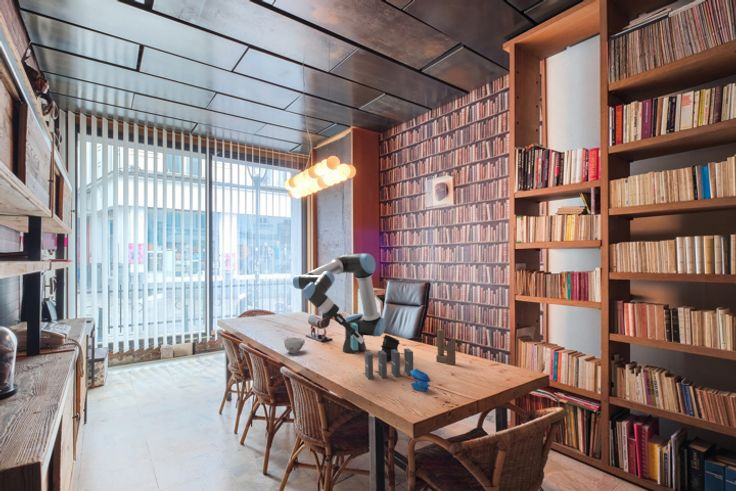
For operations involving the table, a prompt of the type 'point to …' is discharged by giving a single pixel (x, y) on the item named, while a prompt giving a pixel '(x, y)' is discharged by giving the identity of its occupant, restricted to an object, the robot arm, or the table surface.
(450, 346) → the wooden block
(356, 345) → the teal domino
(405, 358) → the domino
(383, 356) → the domino
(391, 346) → the black angular block
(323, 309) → the robot arm
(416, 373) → the crystal
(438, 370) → the table surface
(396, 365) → the domino
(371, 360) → the domino
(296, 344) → the teacup
